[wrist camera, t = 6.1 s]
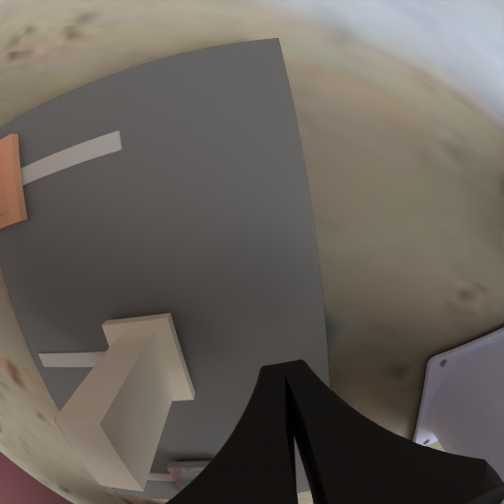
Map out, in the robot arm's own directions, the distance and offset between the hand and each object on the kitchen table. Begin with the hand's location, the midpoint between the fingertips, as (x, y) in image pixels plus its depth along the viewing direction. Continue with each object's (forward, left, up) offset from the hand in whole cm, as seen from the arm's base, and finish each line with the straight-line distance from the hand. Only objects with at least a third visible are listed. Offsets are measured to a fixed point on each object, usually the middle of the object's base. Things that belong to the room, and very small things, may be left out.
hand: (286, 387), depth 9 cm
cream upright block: (+5, 0, -3) cm, 6 cm away
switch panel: (+5, 0, -5) cm, 7 cm away
